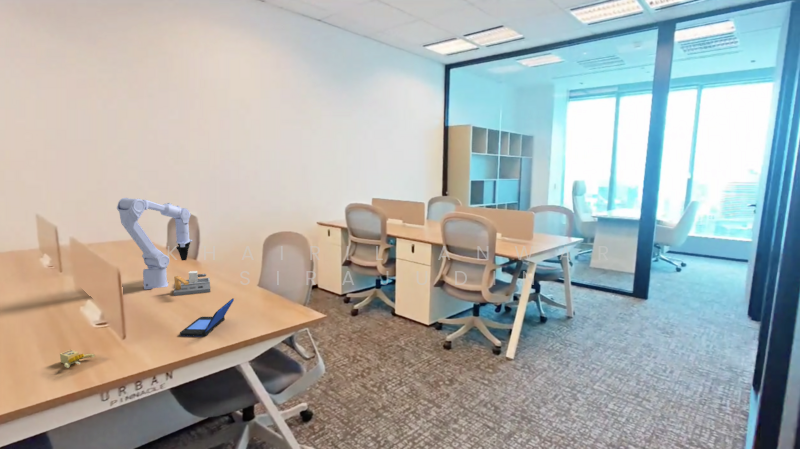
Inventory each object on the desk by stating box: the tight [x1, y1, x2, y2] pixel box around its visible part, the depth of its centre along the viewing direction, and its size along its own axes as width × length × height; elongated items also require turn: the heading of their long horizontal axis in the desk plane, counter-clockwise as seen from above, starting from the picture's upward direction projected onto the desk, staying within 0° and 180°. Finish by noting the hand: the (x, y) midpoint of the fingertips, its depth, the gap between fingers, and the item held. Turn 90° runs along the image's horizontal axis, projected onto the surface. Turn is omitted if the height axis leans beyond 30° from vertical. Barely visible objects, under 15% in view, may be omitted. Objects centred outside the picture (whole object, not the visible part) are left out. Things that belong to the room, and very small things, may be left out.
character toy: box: [59, 349, 96, 369], centre depth 119 cm, size 8×3×8 cm
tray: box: [181, 277, 211, 286], centre depth 196 cm, size 14×8×2 cm, turn 116°
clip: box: [174, 275, 189, 290], centre depth 179 cm, size 13×2×6 cm, turn 45°
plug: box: [188, 270, 207, 283], centre depth 197 cm, size 7×4×6 cm, turn 116°
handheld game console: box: [179, 298, 235, 338], centre depth 146 cm, size 16×13×9 cm
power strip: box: [173, 283, 211, 297], centre depth 186 cm, size 14×9×2 cm, turn 116°
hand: (184, 258), depth 206 cm, fingers open, 7 cm apart
